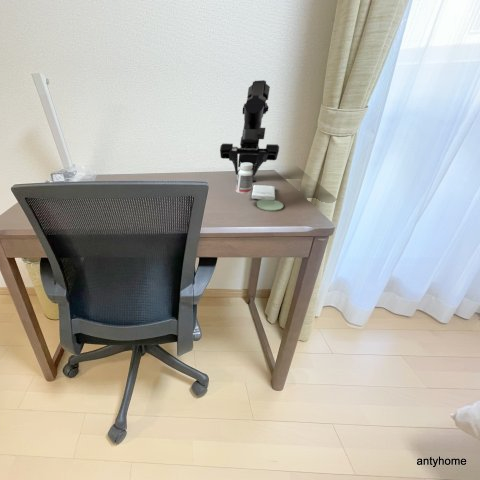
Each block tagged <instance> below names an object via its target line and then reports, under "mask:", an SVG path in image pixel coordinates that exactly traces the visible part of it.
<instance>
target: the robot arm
mask: <svg viewBox="0 0 480 480" xmlns="http://www.w3.org/2000/svg"><path fill="white" fill-rule="evenodd" d="M270 89H271V86H270V85H268V84H267V80H265V79H263V80H262V79H261V80H254V81H252V84H251V85H250V86H249V87H248V89H247V97H246V102H245V103H243V107H242V115H244V116H243V121H244V122H243V129H242V134H241V137H240V142H239V145H240V147H238V146H234V143H224V142H223V143H222V144H221V145H220V147H219V153H220V158H221V159H227V160H229V161H230V162H232V164H233V168H234V172H235V175H236V176H237V172H238V170H239V168H240V164H241V163H244V162H249V163H252V164H253V168H252V169H251V170H253V171H254V174H253V182H254V183H255V182H256V179H255V178H254V176H255V175H256V174H257V172H258V171H259V169H260V167H261V166H262V165H263V163H266V162H268V161H276V160H277V159H278V155H279V152H280V146H279V143H278V144H273V143H268V144H267V143H266V146H265V148H260V146H259V144H260V140H264V139H265V134H266V127H262V121H263V117H264V115H266V114H267V112H269V106H268V102H267V101H268V100H269V96H270ZM253 182H252V183H253Z"/></svg>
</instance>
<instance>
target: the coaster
mask: <svg viewBox="0 0 480 480" xmlns="http://www.w3.org/2000/svg"><path fill="white" fill-rule="evenodd" d="M256 207H257V208H259V209H261V210H264V211H268V212H269V211H270V212H277V211H281V210H282V209H283V208H284V204H283V202H281V201H279V200H276V199H275V200H261V199H259V200H257V202H256Z"/></svg>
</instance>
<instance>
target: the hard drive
mask: <svg viewBox="0 0 480 480" xmlns="http://www.w3.org/2000/svg"><path fill="white" fill-rule="evenodd" d="M251 192H252V193H251V199H253V200H276V188H275V186H274V185H264V184H263V185H262V184H254V185H253V184H252V190H251Z"/></svg>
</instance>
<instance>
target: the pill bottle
mask: <svg viewBox="0 0 480 480" xmlns="http://www.w3.org/2000/svg"><path fill="white" fill-rule="evenodd" d="M240 163H241V162H240ZM252 168H253V164H252V163H249V162H244V163H241V164H240V167H239V169H238V172H237V175H236V180H235V182H236V183H235V192H236V193H238V194H242V195H246V194H247V195H248V194H250V193H251V192H252V190H253V174H254V171H253V170H251V169H252Z"/></svg>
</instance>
